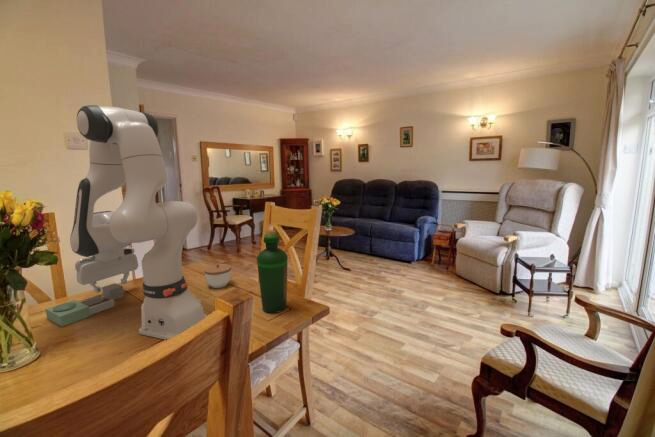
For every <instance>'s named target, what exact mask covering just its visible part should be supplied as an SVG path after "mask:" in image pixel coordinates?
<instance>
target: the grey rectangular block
mask: <svg viewBox="0 0 655 437" xmlns="http://www.w3.org/2000/svg"><path fill="white" fill-rule="evenodd" d="M101 292H102V299H105V300H107V301H109V300H111V299H113V300H114V301H115V300H119V299H121V298H124V297H125V294H124V287H123V286H122V285H121V284H117V283H115V282H114V283H111V284H108V285H104V286H102V287H101Z"/></svg>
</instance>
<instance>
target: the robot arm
mask: <svg viewBox="0 0 655 437" xmlns="http://www.w3.org/2000/svg"><path fill="white" fill-rule="evenodd" d="M76 126H77V129H78V131H79V134H80V135H82V136H83V137H84V138H85V139H86V140H88V141H89V142H90V143H89V153H88V154H89V155H88V156H89V169H88V172H87V174H86V176H85V178H83V179H81V180H80V181H79V184H78V187H77V191H76V199H75V208H74V217H73V218H74V219H73V225H72V228H71V233H70V239H69V244H70V247H71V250H72V251H73V252H74V253H75V254H77V255H78V256H81V257H84V258H81V259H79V260H78V261H76V262H75V263H74V264H75V265H74V267H75V271H76V282H77V283H78V284H79V285H83V286H85V285H88V284H89V285H90V286H91V287H92V288H93V290H94V293H96V294H97V293H100V292H102V287H101V286H99V285H98V286H97V283H98V281H99V282H100V281H102V280H105V279H108V278H109V279H110V278H113V277H116V276H119V275H122V274H123V276H122V278H121V279H120V284H122V285H124V284H127V283H128V278H129V276H130V272H132V271H136V270H137V269H138V268H139V262H138V257H137V255H136V254H135V248H133V247H131V245H132V244H137V243H139V244H141V243H145V242H149V241H153V240H154V241H155V242H154V244H153V246H152V247H151V249H149V250H148V251H147V252H146V253H144V255H143V257H142V259H141V268H142V276H143V277H142V278H143V282H142V292H143V295H144V300H143V302H142V304H141V305H140V308H141V310H140V311H141V312H140V313H141V327H139V329H138V334H139V335H143V336H147V337H151V338H156V339H161V340H166V339H169V338H171V337H173V336H175V335H177V334H179V333H181V332H183V331H185V330H187V329H188V328H190V327H191V326H193V325H195V324H197V323H198V322H199V321H201V320H202V319H204V318H205V317H206V316H209V315H207V313H205V312H204V307H203V305H202V300H201V298H196V297H195V296H194V294H193V293H192V292H191V291H190V290H189V289H188V287H189V285H188V284H189V282H187V281H186V279H185V277H184V275H183V268H182V267H183V266H182V253H183V248H184V244H185V241H186V239H187V238H188V236H189V235H190V232H191V231H192V230H193V229H194V228H195V227H196V226H197V225H196V224H197V223H198V212H197V210H196V209H195V207H194V205H193V204H191V203H190V202H188V201H181V200H170V201H169V200H168V201H164V202H156V194H157V192H158V191H160V190H161V189H163V188H164V187H165V186H166V184H167V183H168V174H167V170H166V166H165V161H164V156H163V152H162V150H161V145H160V143H159V140H158V135H159V126H158V122H157V120H156V118H155V117H154V116H153V115H152V114H149V113H147V112H145V111H142V110H140V111H137V110H132V109H127V108H122V107H117V106H106V105H105V106H103V105H102V106H101V105H100V106H99V105H96V104H95V105H94V104H91V105H82V106H81V108H79V109H78V110H77V114H76ZM124 185H125V195H124V198H123V201H121V202H122V203H121V204H120V205H119V207H118V208H117V209H116V210H114V211H112V210H105V211H104V210H103V211H98V212H97V211H96V212H95V211H94V210H95V205H96V202H97V201H98V200H99V199H100V198H101V197H103V196H105V195H106V194H108V193H111V192H113V191H116V190H118V189H120V188H121V187H123V186H124ZM166 341H167V340H166Z"/></svg>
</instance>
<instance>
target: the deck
mask: <svg viewBox="0 0 655 437" xmlns="http://www.w3.org/2000/svg"><path fill="white" fill-rule="evenodd" d="M103 300H104V299H103V294H98V295H95V296H91V297H89V298H86V299H83V300H81V301H77V300H75V299H71V300H69V301H65V302H64V303H60V304H56V305H53V306H50V307H48V308H45V313H46V318H47V320H49V321H51V322H53V323H54V324H56V325H58V326H59V327H65V326H68V325H70V324H73V323H76V322H79V321H81V320H85V319H87V318H90V317H91V316H92V315H95V314H98V313H100V312H104V311H105V310H108V309H111V308H115V306H116V305H115V300H113V299H111V300H106V301H103Z"/></svg>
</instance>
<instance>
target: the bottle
mask: <svg viewBox="0 0 655 437" xmlns="http://www.w3.org/2000/svg"><path fill="white" fill-rule="evenodd" d="M279 242H280V238H279V234H278V233H277V232H276V230H275V229H270V230H269V229H268V230H266V234H264V236H263V243H264V244H265V249H263V250H261V251H260V252H259V253H258V255H257V256H256V263H257V264H256V265H257V271H258V272H257V273H258V282H259V289H260V290H259V292H260V298H261V307H262V308H261V309H262V310H263V311H264V312H267V313H272V314H274V313H279V312H281V311H284V310H285V309H286V308H287V303H288V302H287V300H288V296H287V293H288V254H287V253H286V252H285V250H283V249H281V248H279V247H278V246H279Z"/></svg>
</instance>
